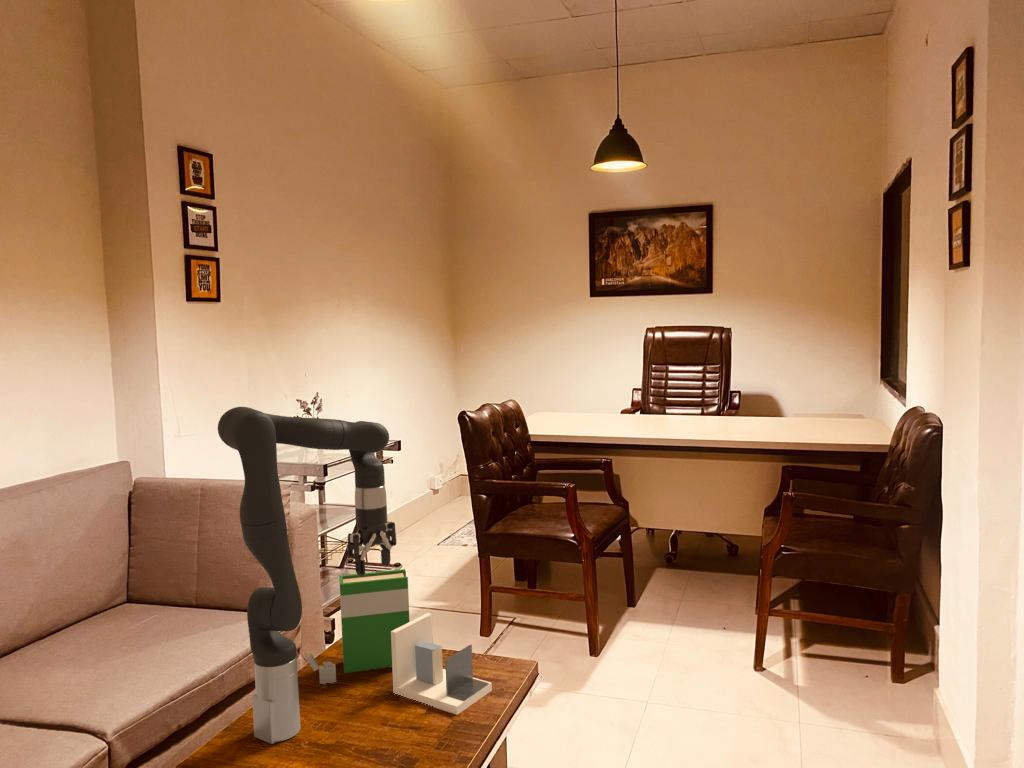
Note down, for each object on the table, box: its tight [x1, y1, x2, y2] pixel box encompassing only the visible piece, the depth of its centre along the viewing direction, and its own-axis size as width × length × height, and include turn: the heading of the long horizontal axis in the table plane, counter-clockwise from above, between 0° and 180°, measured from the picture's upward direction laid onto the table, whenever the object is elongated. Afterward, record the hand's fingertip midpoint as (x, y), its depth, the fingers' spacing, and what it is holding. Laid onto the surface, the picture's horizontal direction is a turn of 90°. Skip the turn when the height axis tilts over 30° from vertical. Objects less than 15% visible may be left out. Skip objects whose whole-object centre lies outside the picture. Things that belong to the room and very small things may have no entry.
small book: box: [415, 641, 444, 685], centre depth 199 cm, size 3×6×9 cm, turn 56°
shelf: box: [391, 612, 493, 716], centre depth 196 cm, size 14×20×16 cm
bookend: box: [444, 644, 489, 701], centre depth 193 cm, size 10×5×9 cm, turn 146°
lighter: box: [305, 652, 337, 685], centre depth 203 cm, size 7×2×8 cm, turn 105°
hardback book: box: [338, 568, 410, 674], centre depth 214 cm, size 18×7×24 cm, turn 104°
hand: (373, 569), depth 192 cm, fingers open, 8 cm apart
